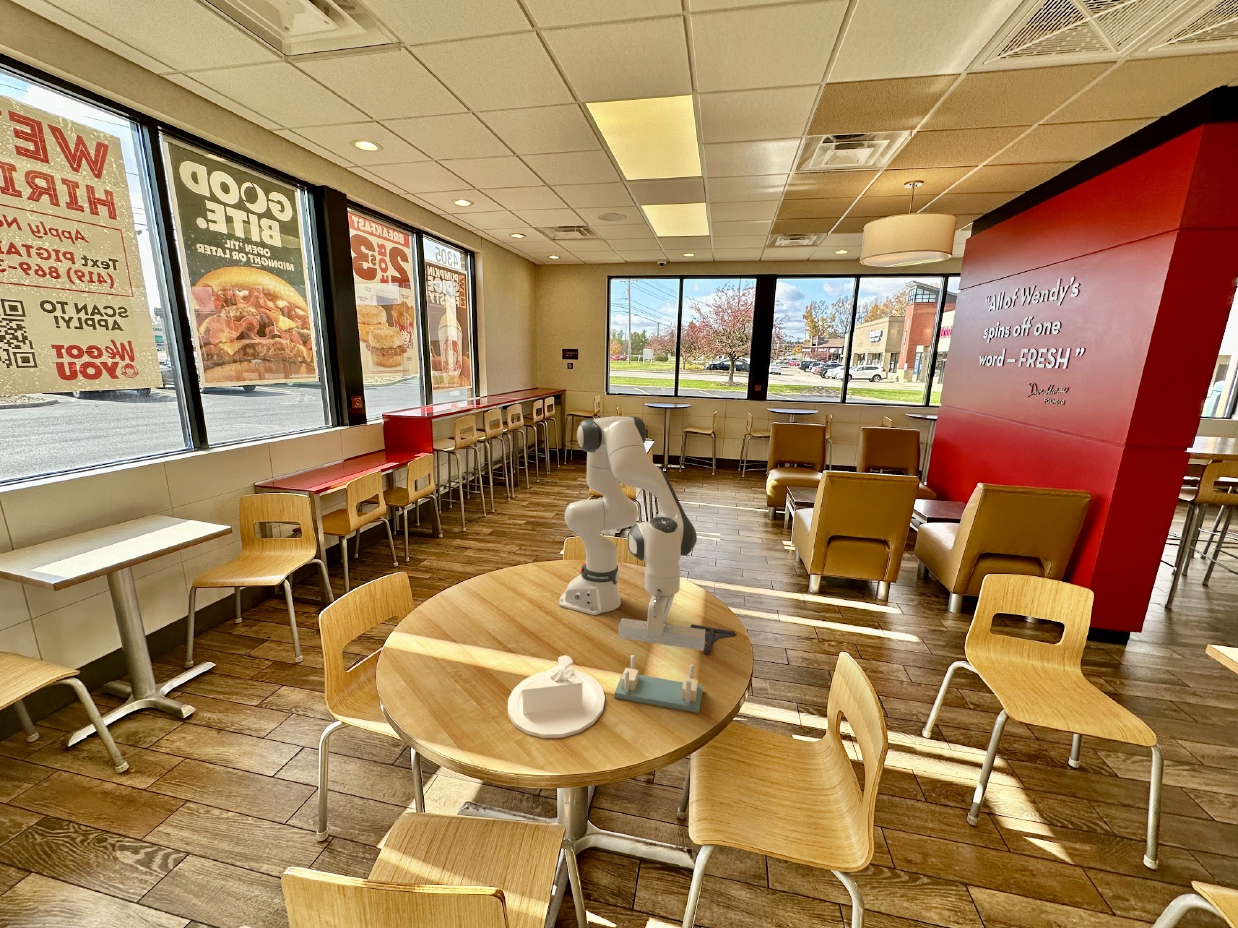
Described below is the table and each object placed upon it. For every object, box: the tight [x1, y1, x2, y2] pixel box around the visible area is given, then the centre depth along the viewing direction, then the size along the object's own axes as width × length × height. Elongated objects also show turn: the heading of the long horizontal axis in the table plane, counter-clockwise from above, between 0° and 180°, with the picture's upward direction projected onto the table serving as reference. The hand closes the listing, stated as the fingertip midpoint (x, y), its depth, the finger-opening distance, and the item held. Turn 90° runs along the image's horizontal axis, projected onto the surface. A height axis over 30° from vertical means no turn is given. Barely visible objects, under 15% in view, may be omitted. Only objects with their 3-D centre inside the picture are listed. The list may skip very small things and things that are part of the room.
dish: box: [507, 655, 606, 739], centre depth 127 cm, size 25×25×11 cm
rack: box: [614, 654, 704, 714], centre depth 130 cm, size 22×9×8 cm, turn 75°
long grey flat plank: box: [617, 617, 706, 652], centre depth 127 cm, size 22×4×4 cm, turn 75°
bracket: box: [689, 623, 736, 656], centre depth 156 cm, size 14×15×3 cm
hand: (660, 631), depth 127 cm, fingers closed on long grey flat plank, 4 cm apart
